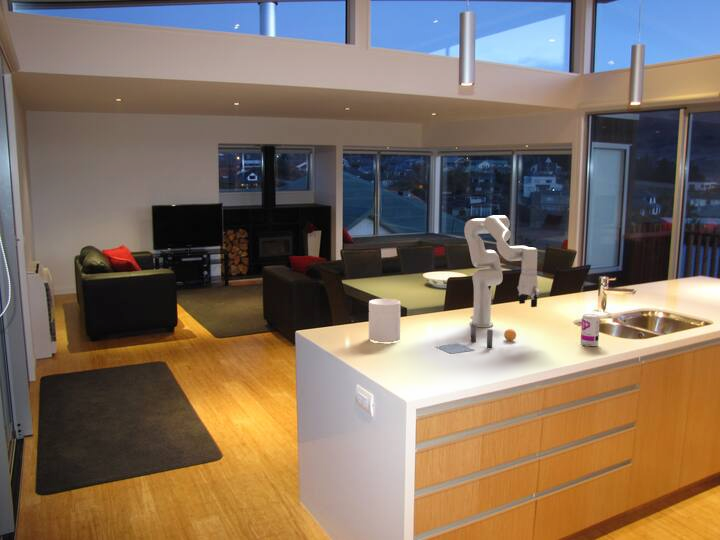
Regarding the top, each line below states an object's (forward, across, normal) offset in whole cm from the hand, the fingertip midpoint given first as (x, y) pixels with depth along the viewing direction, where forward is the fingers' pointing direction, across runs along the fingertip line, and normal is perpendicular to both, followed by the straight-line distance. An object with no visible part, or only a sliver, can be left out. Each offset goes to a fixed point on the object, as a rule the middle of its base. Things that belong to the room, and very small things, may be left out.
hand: (527, 305), depth 321 cm
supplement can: (+18, +20, +22) cm, 35 cm away
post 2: (+18, +7, -27) cm, 33 cm away
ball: (+15, -1, -9) cm, 18 cm away
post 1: (+18, -6, -28) cm, 34 cm away
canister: (+18, -25, -69) cm, 75 cm away
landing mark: (+18, +2, -43) cm, 47 cm away
